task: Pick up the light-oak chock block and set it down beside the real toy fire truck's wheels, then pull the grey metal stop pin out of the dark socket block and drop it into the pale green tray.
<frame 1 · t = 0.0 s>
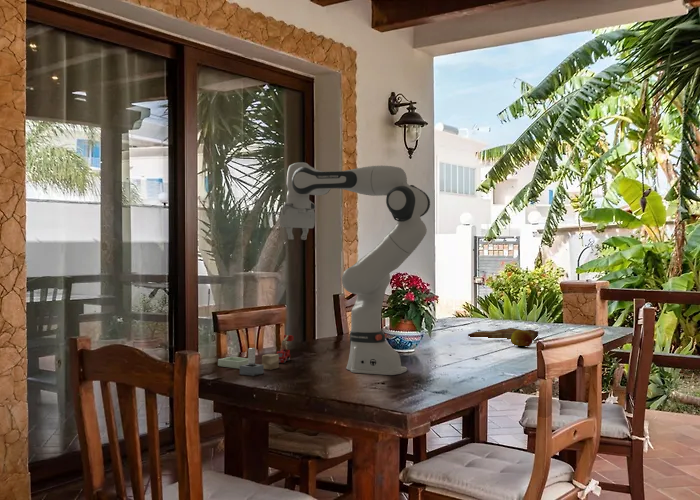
hand: (297, 239, 275), 48 cm above the table, fingers open, 8 cm apart
tray: (235, 365, 264), on the table
toy fire truck: (284, 361, 278), on the table
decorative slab: (503, 339, 353), on the table
socket block: (251, 373, 248), on the table
fruit: (521, 348, 322), on the table
stop pin: (251, 361, 248), in the socket block
chock: (270, 368, 260), on the table
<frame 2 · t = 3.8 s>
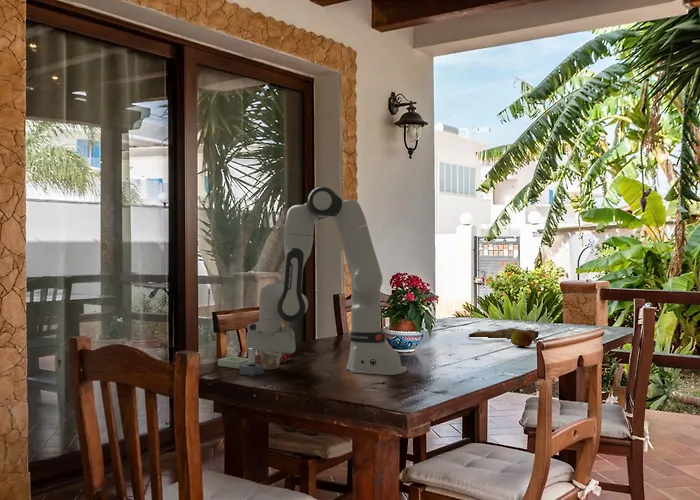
hand: (270, 363, 260), 2 cm above the table, fingers closed on chock, 4 cm apart
chock: (270, 368, 260), on the table, touching gripper
everything else where it was.
when the fingers open (3 cm above the table, at t = 8.8 s): chock drops 1 cm, on the table.
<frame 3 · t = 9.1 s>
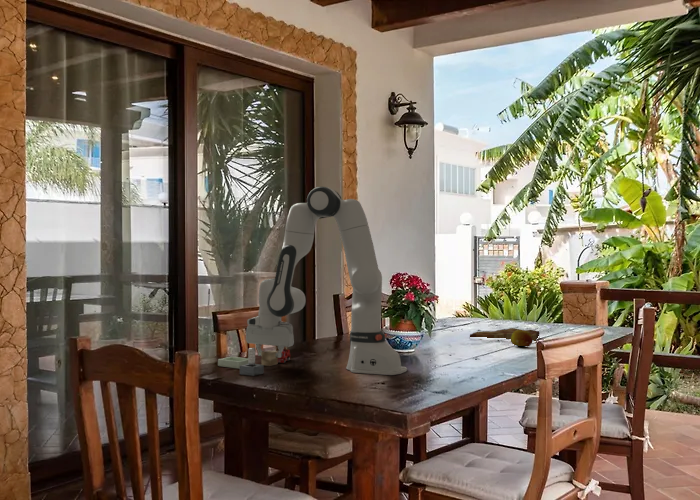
hand: (269, 356, 268), 3 cm above the table, fingers open, 7 cm apart
chock: (269, 364, 268), on the table
everything else where it was.
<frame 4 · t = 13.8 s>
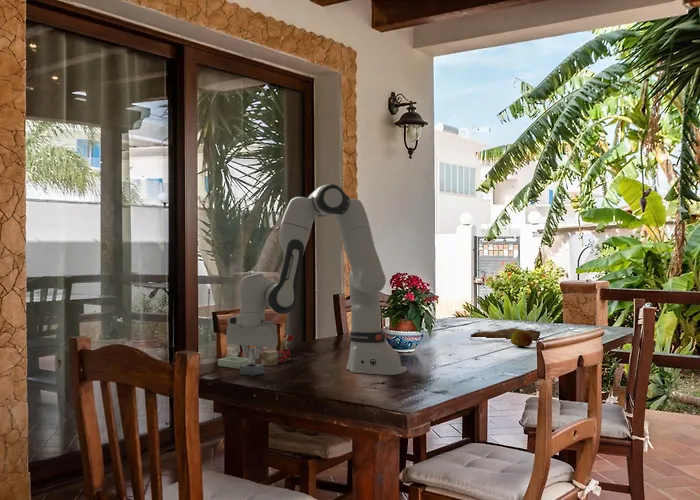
hand: (251, 358, 248), 5 cm above the table, fingers closed on stop pin, 2 cm apart
stop pin: (251, 361, 248), in the socket block, touching gripper
when the fingers open (8 cm above the table, at t = 18.7 s): stop pin drops 1 cm, resting on tray.
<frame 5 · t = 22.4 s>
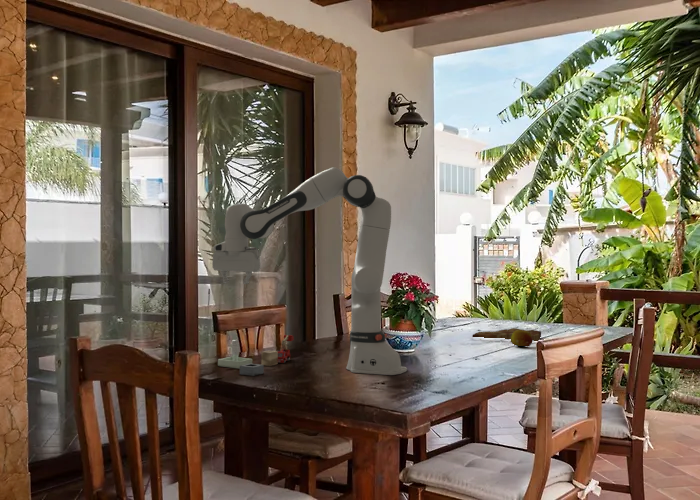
hand: (236, 283, 264), 31 cm above the table, fingers open, 8 cm apart
stop pin: (235, 352, 264), in the tray, point 5 cm above the table
at the end: chock 10.6 cm from the toy fire truck (horizontally); stop pin inside the target area on the tray (0.1 cm from its centre), point 5.1 cm above the tray's base; toy fire truck moved 0.3 cm from its start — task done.
